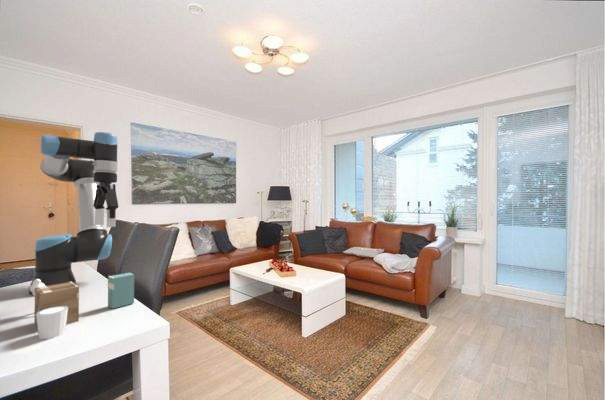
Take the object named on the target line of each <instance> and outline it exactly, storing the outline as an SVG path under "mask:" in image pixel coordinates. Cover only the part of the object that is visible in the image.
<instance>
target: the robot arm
mask: <svg viewBox="0 0 605 400" xmlns="http://www.w3.org/2000/svg"><path fill="white" fill-rule="evenodd" d="M93 136H94V137H93V140H89V139H88V140H87V139H80V138H73V137H65V136H58V135H48V134H43V135H42V136H41V137H40V152H41V154H42V155H44V158H43V159H42V160H41V161H40V170H41V171H42V173H44V175H46V176H47V177H48V178H51V179H53V180H57V181H60V182H68V183H73V185H74V187H75V188H77V192H78V194H77V195H78V208H79V209H78V210H79V226H80V230H79V231H78V232H76V236H73V235H72V234H71V233H66V234H63V233H61V234H56V235H50V236H45V237H41V238H39V239H37V240H36V242H35V248H34V252H35V253H34V254H35V257H34V260H35V262H34V275H33V278H32V280H31V282H30V283H29V284H30V285H29V286H28V294H29V295H32V296H34V295H33V293H32V292H31V291H30V286H31V285H32V284H33V281H34V280H35V279H40V280H41V282H42V283H44V284H45V286H49V285H55V284H61V283H66V282H70V281H72V282H73V283H74V284H76V285H77V280H76V279H77V278H75V275H74V272H73V270H72V264H75V263H83V262H91V261H99V260H105V259H108V258H109V257H110V255H111V251H112V246H113V245H112V244H113V235H112V234H111V233H108V230H107V229H106V228H114V227H115V228H116V225H117V223H116V220H117V209H118V208H119V201H118V196H117V189H116V184H115V183H117V182H118V174H117V172H118V145H119V143H118V136H117V135H116V134H115V133H111V132H104V131H97V132H94V134H93ZM84 159H85V160H84ZM86 159H87V160H86ZM105 202H106V206H107V207H106V206H104V205H105ZM105 207H106V208H105ZM105 211H106V228H104V220H105V219H104V218H105Z"/></svg>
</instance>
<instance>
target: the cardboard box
mask: <svg viewBox="0 0 605 400" xmlns="http://www.w3.org/2000/svg"><path fill="white" fill-rule="evenodd" d="M79 301H80V286H79V285H77V283H76V284H74V283H73V282H72V281H70V282H66V283H61V284H55V285H49V286H42V287H38V288H35V297H34V312H35V313H34V315H35V316H34V325H35V326H36V328H37V329H38V325H37V317H36V314H37V312H39V311H41V310H44V309H47V308H51V307H57V306H67V307H68V313H67V321H66V325H69V324H72V323H73V324H74V323H76V322H79V318H80V317H79V315H80V314H79V313H80V311H79V309H80V308H79V307H80V304H79V303H80V302H79Z"/></svg>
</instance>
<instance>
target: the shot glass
mask: <svg viewBox="0 0 605 400" xmlns="http://www.w3.org/2000/svg"><path fill="white" fill-rule="evenodd" d="M67 313H68V307H67V306H57V307H51V308H47V309H44V310H41V311H39V312H37V314H36V317H37V325H38V328H37V333H38V339H40V340H50V339H54V338H56V337H59V336H62V335H64V334H65V333H66V328H67V324H66V321H67Z"/></svg>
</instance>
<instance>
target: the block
mask: <svg viewBox="0 0 605 400" xmlns="http://www.w3.org/2000/svg"><path fill="white" fill-rule="evenodd" d="M134 303H135V274H133V273H132V272H125V273H119V274H114V275H108V277H107V307H109V308H110V309H116V308H120V307H125V306H128V305H132V304H134Z"/></svg>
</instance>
